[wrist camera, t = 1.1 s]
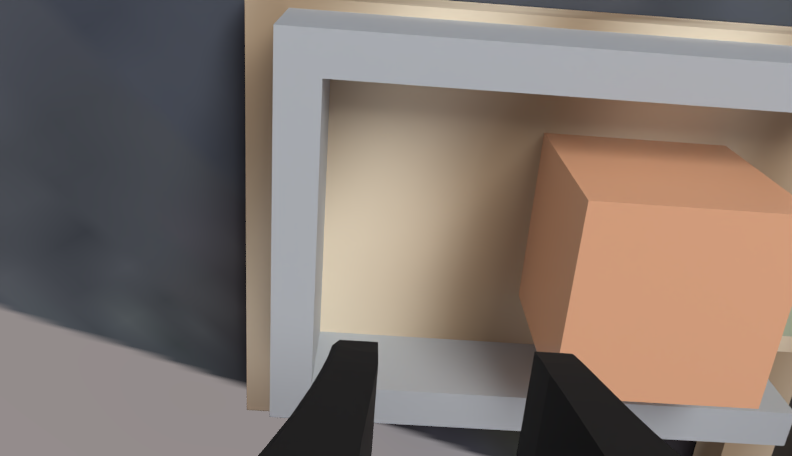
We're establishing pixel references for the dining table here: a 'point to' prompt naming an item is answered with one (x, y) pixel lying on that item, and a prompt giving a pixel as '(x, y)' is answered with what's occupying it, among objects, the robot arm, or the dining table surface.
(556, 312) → the terracotta block
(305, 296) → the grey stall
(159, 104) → the dining table surface
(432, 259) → the birch deck
